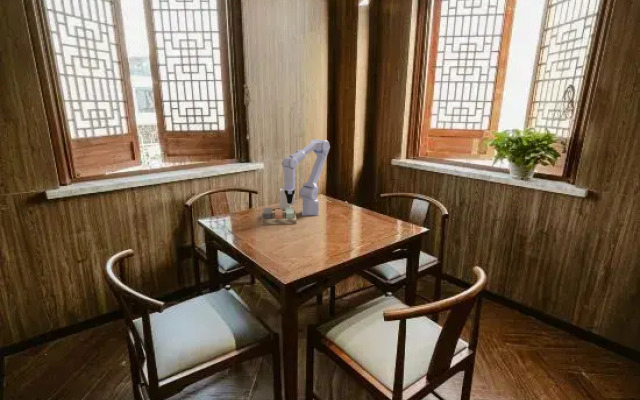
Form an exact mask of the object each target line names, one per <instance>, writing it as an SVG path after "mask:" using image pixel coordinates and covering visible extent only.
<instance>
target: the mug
mask: <svg viewBox="0 0 640 400" xmlns="http://www.w3.org/2000/svg"><path fill="white" fill-rule="evenodd" d="M284 191H285V189H282V188H280V189H279V209H282V211H286V208H287V207H291V206H293V205H294V204H295V201H296V195H295V194H294V195H293V199H292V203H291V204H288V203H287V197H286V194H285V192H284Z"/></svg>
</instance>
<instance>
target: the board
mask: <svg viewBox="0 0 640 400" xmlns="http://www.w3.org/2000/svg"><path fill="white" fill-rule="evenodd" d="M293 212H294V219H286V210H282V214H283V219H275V210H272V218H271V219H264V210H262V211H261V218H260V225H296V224H297V215H296V210H295V211H294V210H293Z"/></svg>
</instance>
